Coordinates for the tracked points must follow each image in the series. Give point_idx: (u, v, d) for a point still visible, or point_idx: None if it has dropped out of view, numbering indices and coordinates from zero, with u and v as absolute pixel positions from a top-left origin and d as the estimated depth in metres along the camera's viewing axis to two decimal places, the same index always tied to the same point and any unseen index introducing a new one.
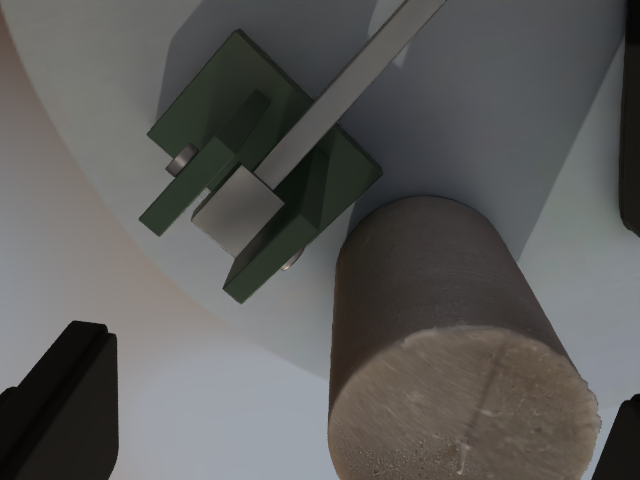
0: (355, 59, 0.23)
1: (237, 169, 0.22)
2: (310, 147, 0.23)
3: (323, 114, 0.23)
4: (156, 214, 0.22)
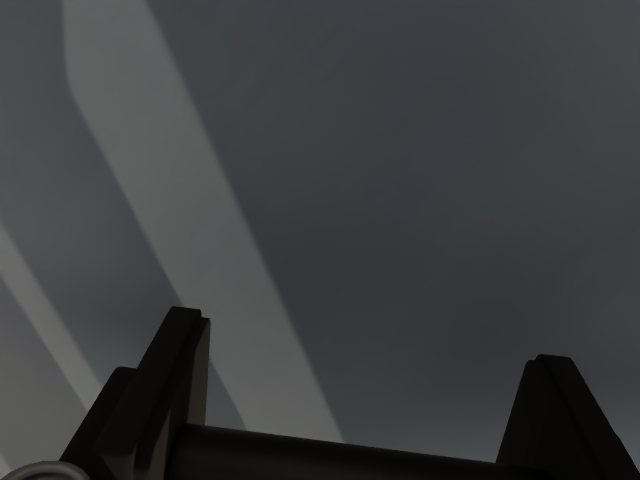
0: None
1: None
2: None
3: None
4: None
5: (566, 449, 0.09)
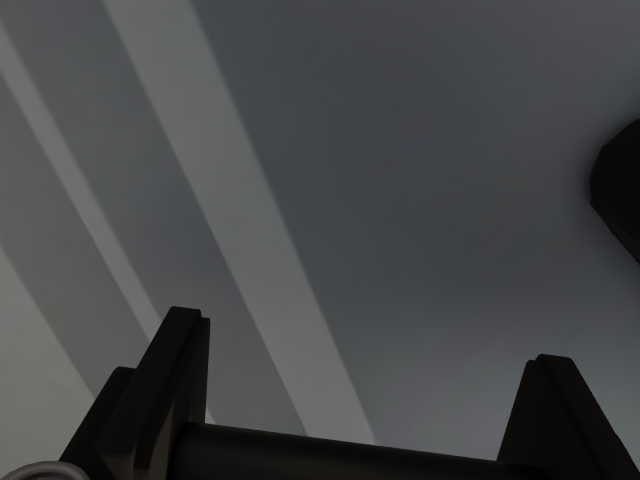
0: None
1: None
2: None
3: None
4: None
5: (566, 449, 0.09)
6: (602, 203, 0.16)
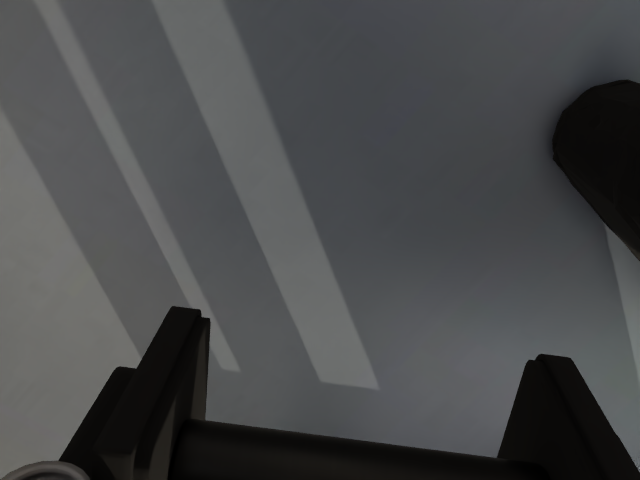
0: None
1: None
2: None
3: None
4: None
5: (566, 449, 0.09)
6: (561, 156, 0.19)
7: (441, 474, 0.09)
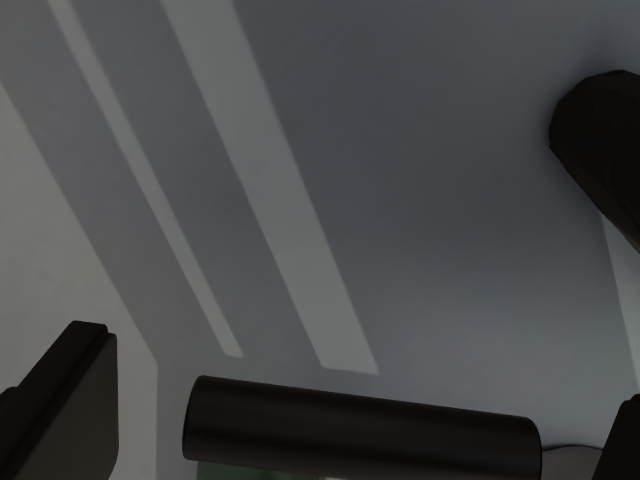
0: None
1: None
2: None
3: None
4: None
5: None
6: (557, 144, 0.19)
7: (436, 423, 0.10)
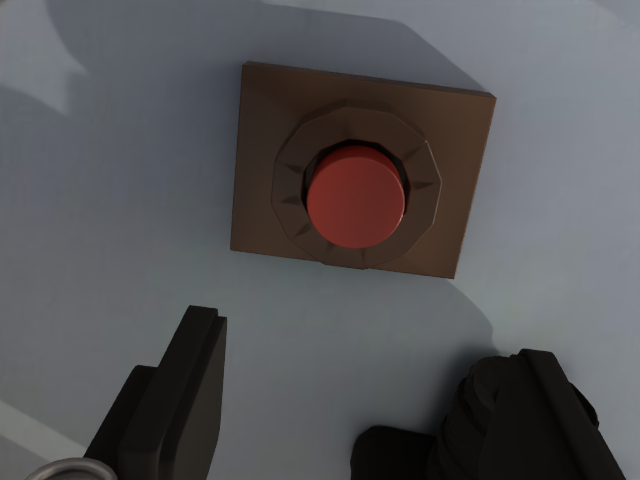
0: None
1: None
2: None
3: None
4: None
5: (544, 442, 0.09)
6: None
7: None
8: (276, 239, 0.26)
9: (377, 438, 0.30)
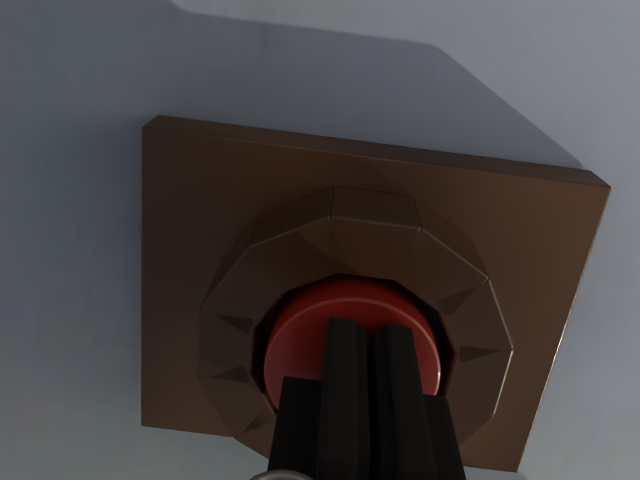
0: None
1: None
2: None
3: None
4: None
5: (376, 410, 0.10)
6: None
7: None
8: None
9: None
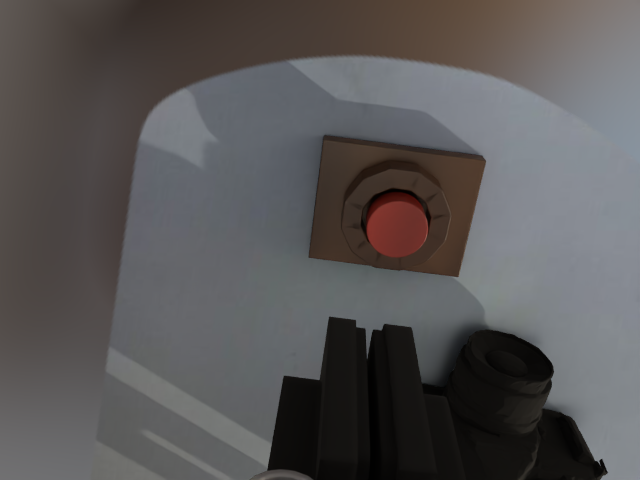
0: None
1: None
2: None
3: None
4: None
5: (376, 410, 0.10)
6: None
7: None
8: (340, 250, 0.39)
9: None
